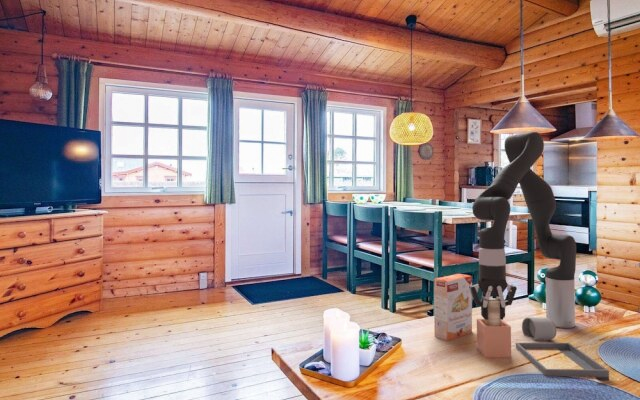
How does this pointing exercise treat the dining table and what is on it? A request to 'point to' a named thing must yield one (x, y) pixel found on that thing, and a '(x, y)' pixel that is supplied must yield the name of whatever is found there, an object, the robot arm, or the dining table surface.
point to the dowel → (493, 312)
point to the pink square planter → (494, 339)
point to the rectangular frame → (571, 352)
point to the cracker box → (452, 306)
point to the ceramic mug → (539, 328)
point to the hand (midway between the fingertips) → (493, 318)
